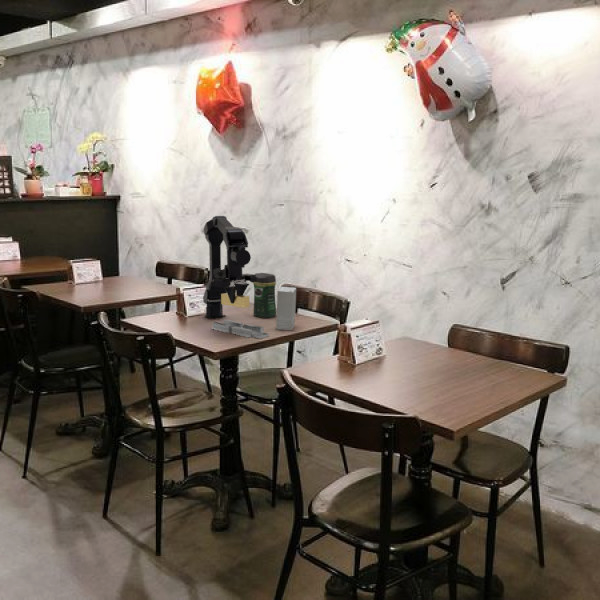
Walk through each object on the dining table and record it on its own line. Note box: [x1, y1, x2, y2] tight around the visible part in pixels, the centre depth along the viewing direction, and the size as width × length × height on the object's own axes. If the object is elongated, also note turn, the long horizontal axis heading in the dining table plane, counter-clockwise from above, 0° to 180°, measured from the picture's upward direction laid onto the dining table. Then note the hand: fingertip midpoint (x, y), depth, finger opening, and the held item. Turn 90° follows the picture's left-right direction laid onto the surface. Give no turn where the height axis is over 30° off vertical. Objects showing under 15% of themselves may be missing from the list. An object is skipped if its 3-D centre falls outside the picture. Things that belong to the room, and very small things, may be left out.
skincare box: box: [275, 286, 297, 331], centre depth 258 cm, size 8×7×16 cm
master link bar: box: [221, 293, 250, 309], centre depth 251 cm, size 3×12×4 cm, turn 51°
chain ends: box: [212, 319, 270, 340], centre depth 252 cm, size 8×24×3 cm, turn 50°
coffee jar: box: [252, 272, 277, 319], centre depth 279 cm, size 10×8×19 cm
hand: (235, 302), depth 251 cm, fingers closed on master link bar, 3 cm apart
